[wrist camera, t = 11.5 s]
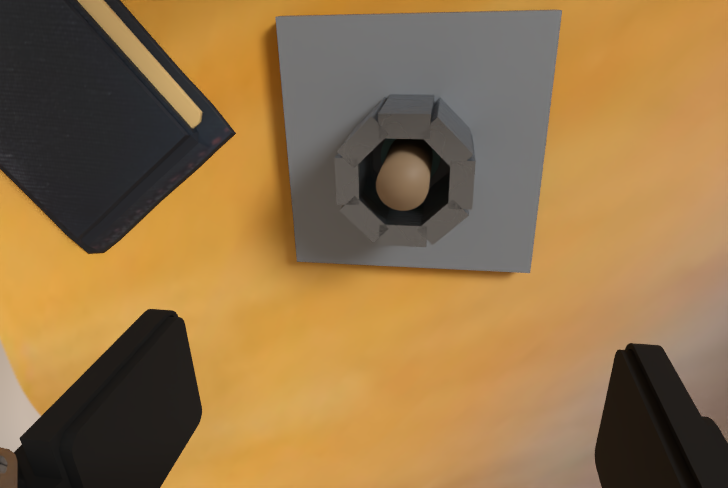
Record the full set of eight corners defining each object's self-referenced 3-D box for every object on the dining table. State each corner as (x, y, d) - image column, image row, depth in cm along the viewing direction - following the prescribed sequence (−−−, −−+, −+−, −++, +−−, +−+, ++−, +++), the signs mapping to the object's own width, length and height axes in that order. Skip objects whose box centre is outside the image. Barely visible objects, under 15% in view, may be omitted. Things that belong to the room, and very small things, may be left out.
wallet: (-176, 19, 31) (-46, -192, 25) (-143, 17, 33) (-15, -180, 27) (79, 273, 36) (234, 144, 30) (96, 260, 38) (245, 136, 32)
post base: (557, 9, 26) (588, 14, 20) (527, 263, 32) (544, 325, 26) (282, 16, 28) (235, 22, 22) (302, 253, 34) (269, 308, 28)
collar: (475, 94, 27) (478, 114, 23) (467, 211, 30) (469, 249, 25) (352, 93, 28) (332, 113, 24) (355, 206, 31) (338, 243, 26)
